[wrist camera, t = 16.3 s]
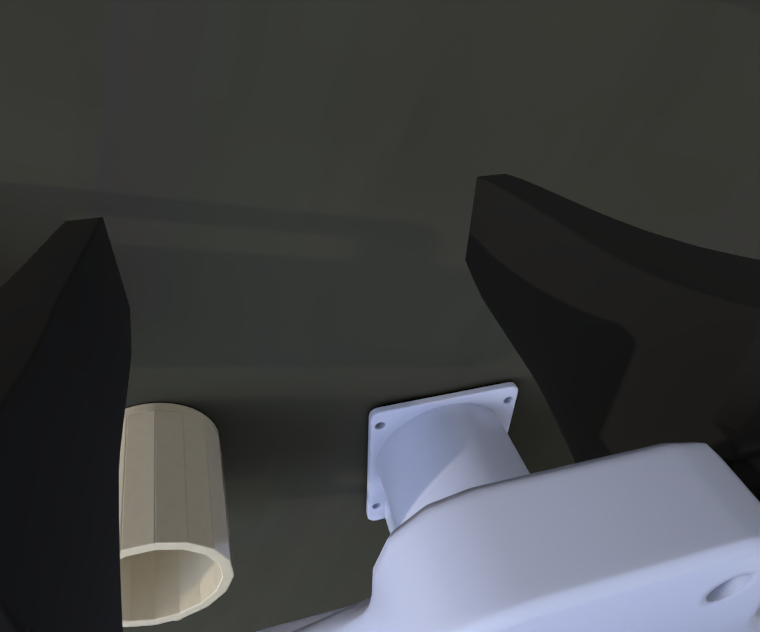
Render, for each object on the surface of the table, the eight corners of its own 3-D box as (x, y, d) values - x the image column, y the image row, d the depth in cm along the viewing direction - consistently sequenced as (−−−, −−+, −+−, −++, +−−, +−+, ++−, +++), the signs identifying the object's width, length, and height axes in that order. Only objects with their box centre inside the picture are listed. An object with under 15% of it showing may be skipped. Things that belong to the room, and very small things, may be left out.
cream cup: (69, 416, 25) (47, 567, 20) (209, 391, 26) (222, 527, 21) (116, 522, 30) (108, 664, 25) (233, 497, 32) (247, 627, 27)
